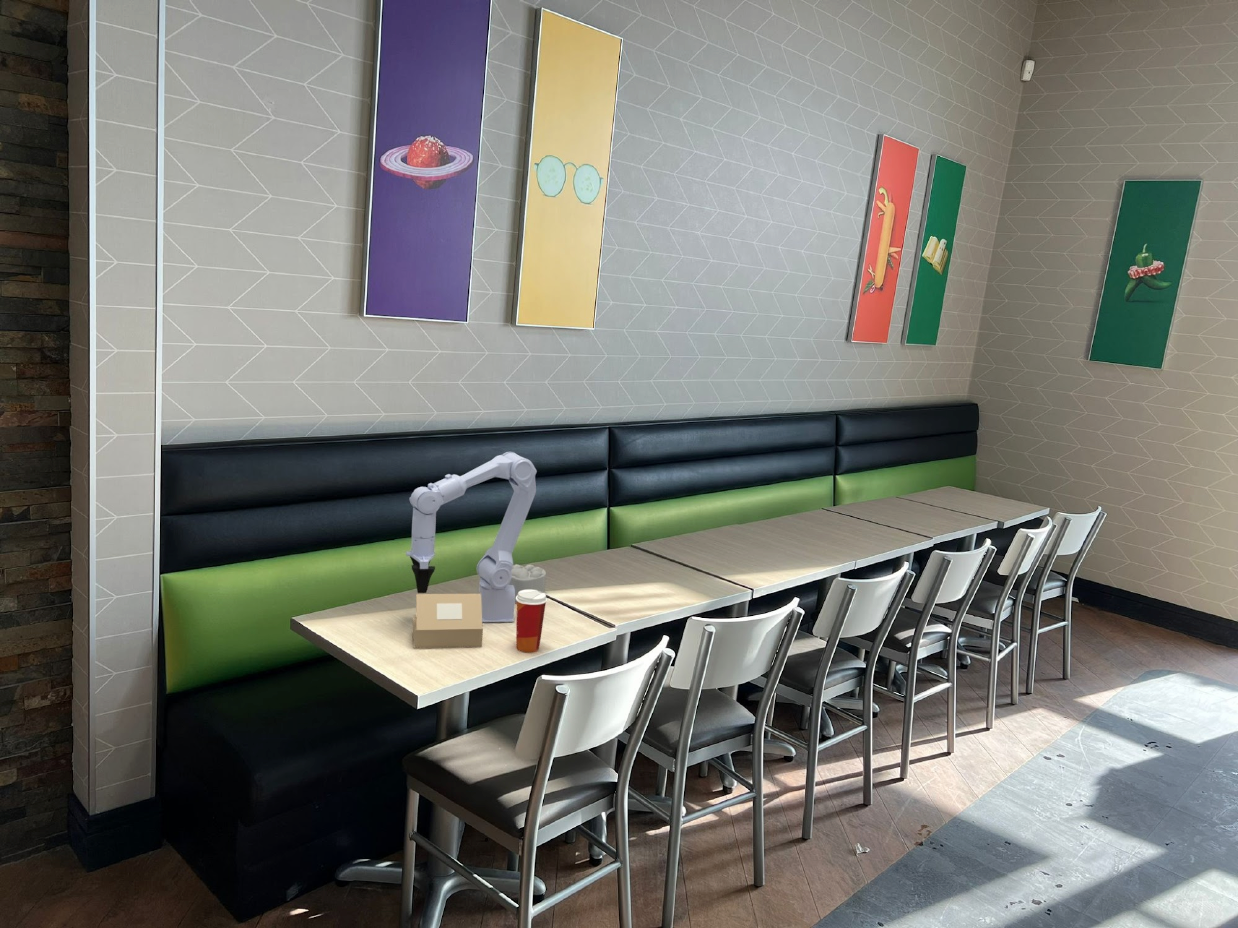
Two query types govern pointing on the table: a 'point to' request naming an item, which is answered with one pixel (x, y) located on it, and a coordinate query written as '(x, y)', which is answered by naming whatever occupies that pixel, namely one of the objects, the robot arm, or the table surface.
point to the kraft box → (446, 638)
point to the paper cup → (529, 619)
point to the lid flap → (448, 612)
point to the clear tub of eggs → (527, 578)
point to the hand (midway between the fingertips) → (421, 587)
